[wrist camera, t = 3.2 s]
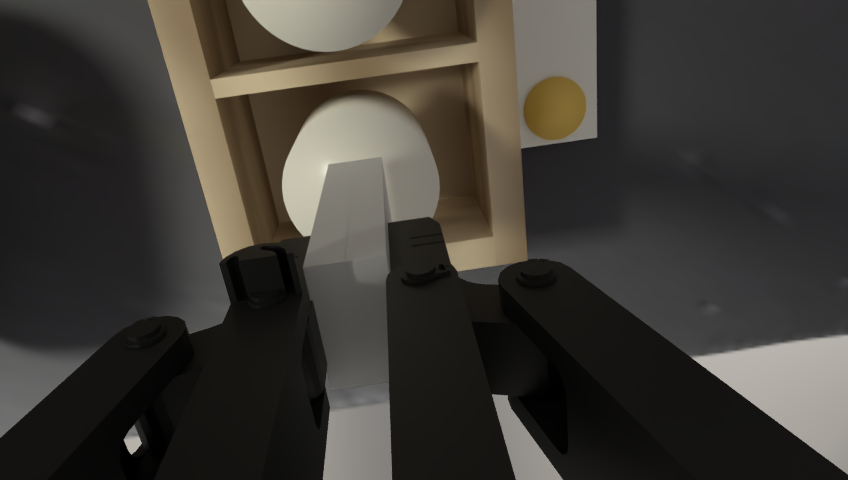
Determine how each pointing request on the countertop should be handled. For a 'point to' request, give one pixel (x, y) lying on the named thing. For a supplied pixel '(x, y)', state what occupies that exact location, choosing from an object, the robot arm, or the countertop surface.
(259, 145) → the wooden compartment tray
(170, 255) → the countertop surface
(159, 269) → the countertop surface
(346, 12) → the button
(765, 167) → the countertop surface
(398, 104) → the button
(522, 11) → the card
